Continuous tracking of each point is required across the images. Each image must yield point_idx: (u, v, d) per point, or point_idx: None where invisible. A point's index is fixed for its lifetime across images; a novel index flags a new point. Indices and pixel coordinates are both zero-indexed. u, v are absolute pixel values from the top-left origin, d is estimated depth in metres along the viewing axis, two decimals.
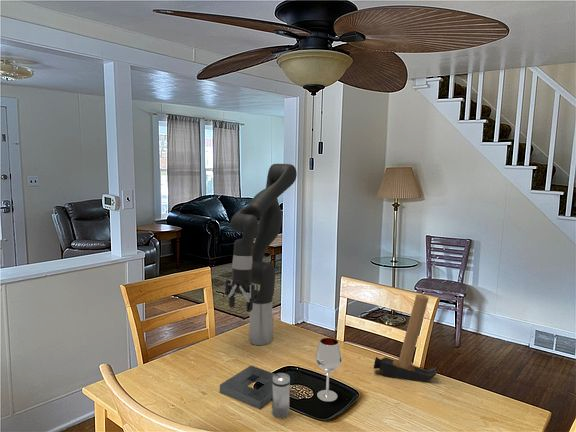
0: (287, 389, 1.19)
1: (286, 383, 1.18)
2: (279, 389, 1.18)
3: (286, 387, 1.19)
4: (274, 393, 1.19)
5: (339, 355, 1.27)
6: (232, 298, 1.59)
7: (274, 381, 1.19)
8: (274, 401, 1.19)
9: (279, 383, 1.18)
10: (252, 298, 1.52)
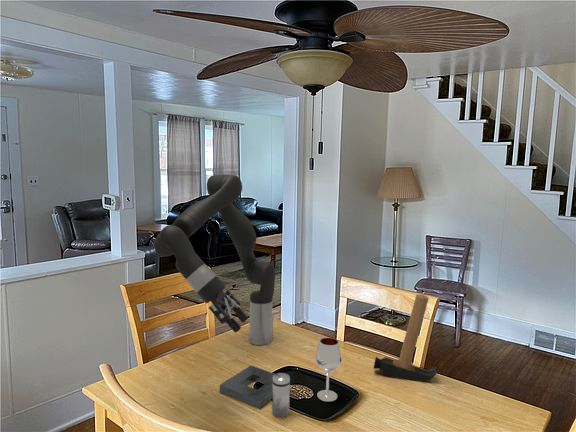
0: (287, 389, 1.19)
1: (286, 383, 1.18)
2: (279, 389, 1.18)
3: (286, 387, 1.19)
4: (274, 393, 1.19)
5: (339, 355, 1.27)
6: (237, 312, 1.25)
7: (274, 381, 1.19)
8: (274, 401, 1.19)
9: (279, 383, 1.18)
10: None
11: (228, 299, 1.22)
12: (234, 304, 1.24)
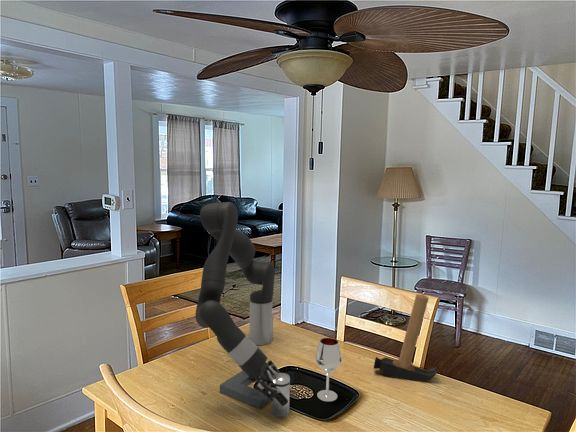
0: (287, 389, 1.19)
1: (286, 383, 1.18)
2: (279, 389, 1.18)
3: (286, 387, 1.19)
4: None
5: (339, 355, 1.27)
6: None
7: None
8: (274, 401, 1.19)
9: (279, 383, 1.18)
10: None
11: (270, 370, 1.22)
12: None
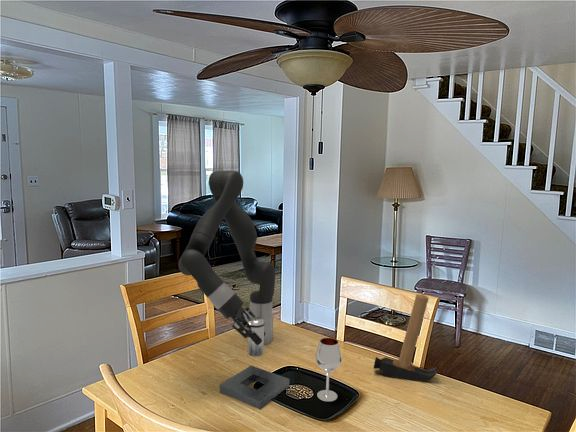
0: (261, 330, 1.30)
1: (260, 324, 1.30)
2: None
3: (260, 328, 1.30)
4: None
5: (339, 355, 1.27)
6: None
7: None
8: (249, 341, 1.31)
9: (254, 324, 1.29)
10: None
11: (246, 314, 1.33)
12: None
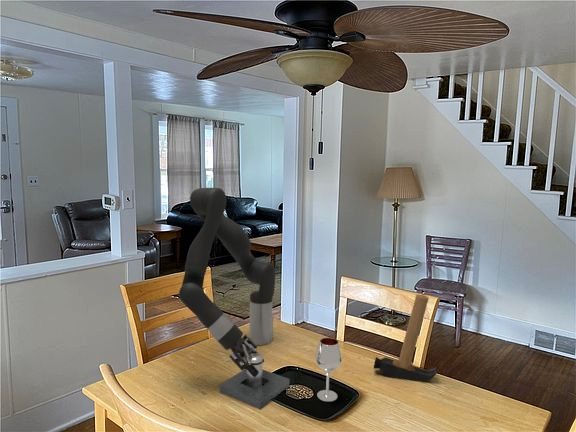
0: (260, 367, 1.31)
1: (259, 362, 1.31)
2: None
3: (258, 366, 1.31)
4: (248, 371, 1.32)
5: (339, 355, 1.27)
6: None
7: None
8: (248, 378, 1.32)
9: (252, 362, 1.30)
10: None
11: (246, 345, 1.34)
12: (251, 349, 1.36)
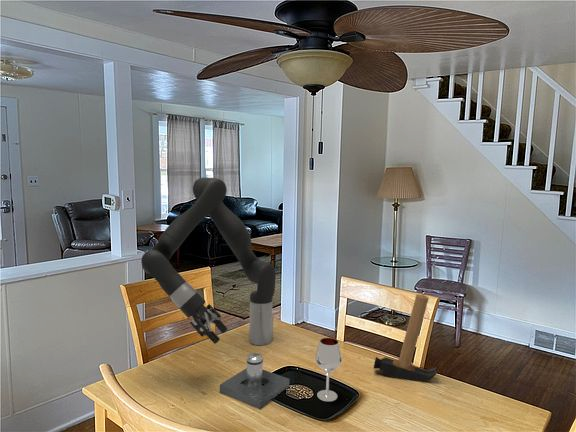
0: (260, 367, 1.32)
1: (258, 362, 1.31)
2: (252, 367, 1.31)
3: (258, 366, 1.31)
4: (248, 371, 1.32)
5: (339, 355, 1.27)
6: (217, 324, 1.38)
7: (248, 360, 1.31)
8: (248, 378, 1.32)
9: (252, 361, 1.31)
10: None
11: (208, 313, 1.35)
12: (214, 317, 1.36)
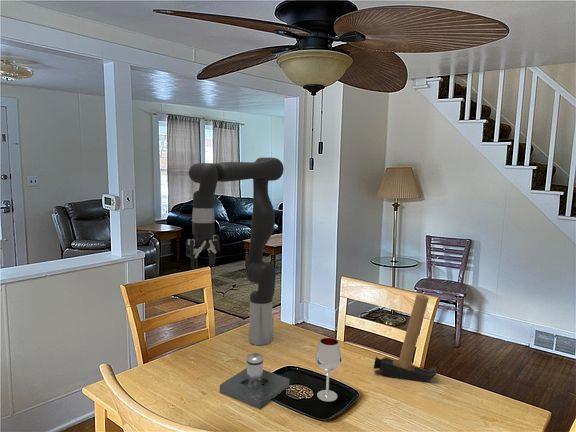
0: (260, 367, 1.31)
1: (259, 362, 1.31)
2: (252, 367, 1.31)
3: (258, 366, 1.31)
4: (248, 371, 1.32)
5: (339, 355, 1.27)
6: (210, 254, 1.50)
7: (248, 360, 1.31)
8: (248, 378, 1.32)
9: (252, 362, 1.30)
10: None
11: (208, 243, 1.46)
12: (211, 249, 1.47)
